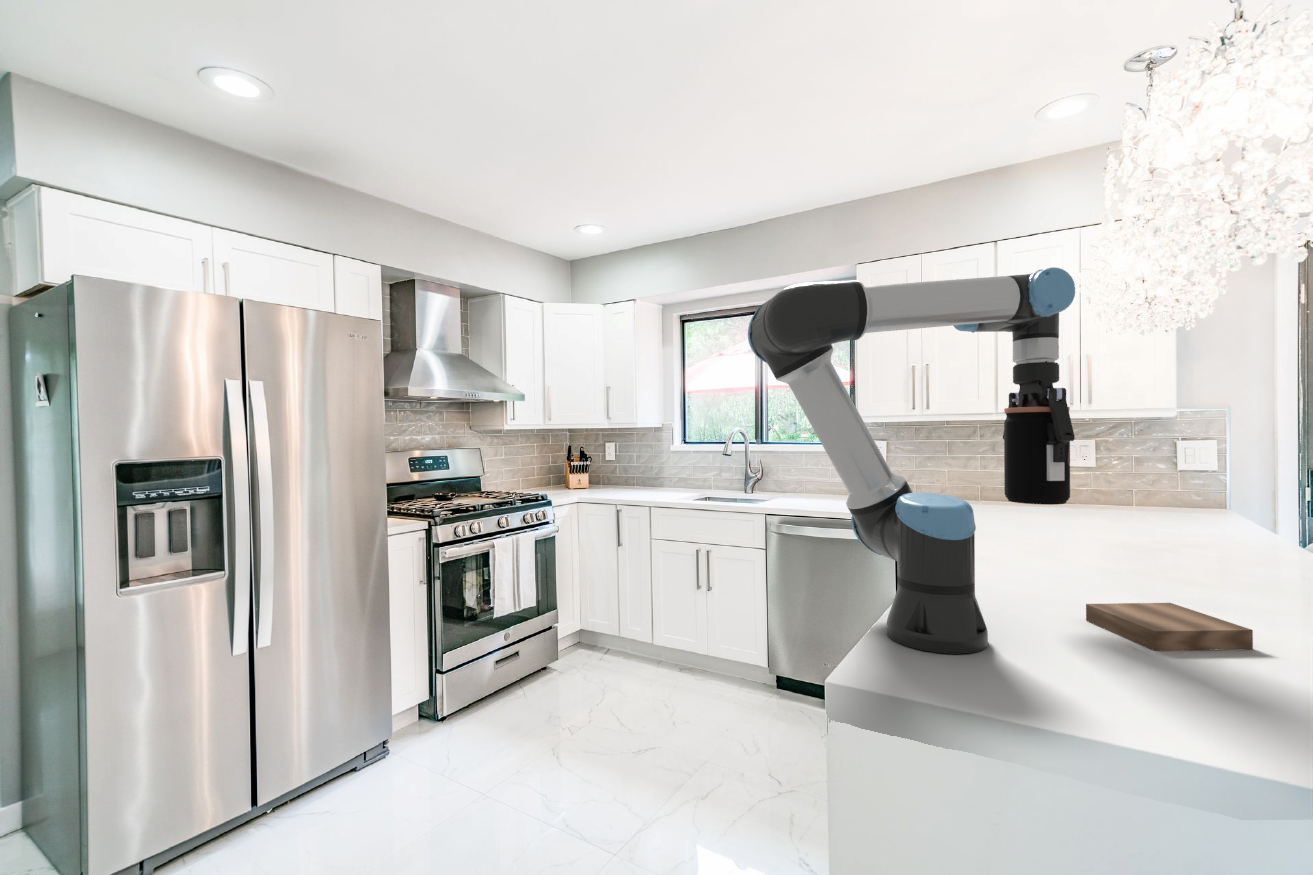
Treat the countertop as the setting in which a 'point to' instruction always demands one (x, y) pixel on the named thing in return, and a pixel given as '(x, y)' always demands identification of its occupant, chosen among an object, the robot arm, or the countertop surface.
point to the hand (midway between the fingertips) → (1036, 478)
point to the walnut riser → (1169, 626)
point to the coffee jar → (1031, 458)
